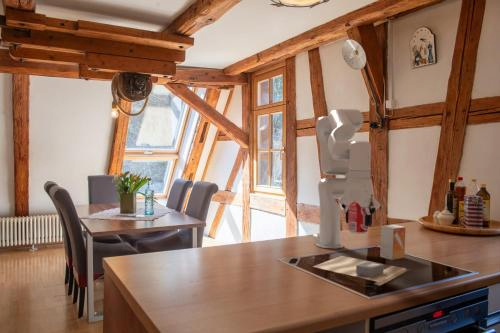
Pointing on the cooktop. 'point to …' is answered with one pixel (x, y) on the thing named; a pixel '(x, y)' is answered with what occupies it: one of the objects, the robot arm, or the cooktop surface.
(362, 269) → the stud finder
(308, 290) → the cooktop surface
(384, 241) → the small box
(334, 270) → the plywood panel
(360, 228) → the soda can
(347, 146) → the robot arm
